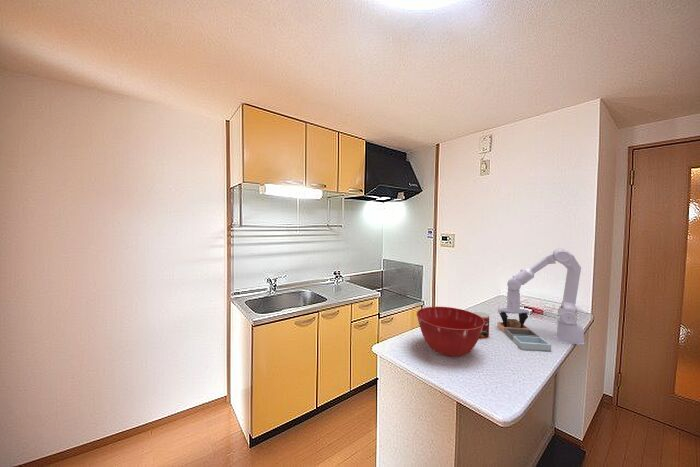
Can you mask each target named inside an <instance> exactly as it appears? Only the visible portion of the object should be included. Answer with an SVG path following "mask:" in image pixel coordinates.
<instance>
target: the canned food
mask: <svg viewBox="0 0 700 467" xmlns="http://www.w3.org/2000/svg"><path fill="white" fill-rule="evenodd" d="M473 313H474V314H477V315H479V316H480V317H482V318H483V319H484V321H485V324H484V326H483V329H482V332H481V334H480V337H479V339H481V340H482V339H487V338H490V314H488V313H486V312H482V311H473ZM479 339H478V340H479Z"/></svg>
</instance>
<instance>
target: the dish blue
mask: <svg viewBox="0 0 700 467" xmlns="http://www.w3.org/2000/svg"><path fill="white" fill-rule="evenodd" d="M512 342H513V343H514V344H515V345H516V346H518V349H520V350H522V351H535V352H536V351H537V352H538V351H539V352H552V344H551V343H549V342H548V341H547V340H545V339H544V338H543V337H542V336H540V337H529V336H513V340H512Z"/></svg>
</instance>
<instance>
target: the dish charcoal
mask: <svg viewBox="0 0 700 467" xmlns="http://www.w3.org/2000/svg"><path fill="white" fill-rule="evenodd" d="M504 334H505V336H507V337H508V339H510V340H511V341H513V336H529V337H541V336H540V335H539V334H537V333H536V332H535V331H534V330H532V329H530V330H528V329H508V328H505V333H504Z"/></svg>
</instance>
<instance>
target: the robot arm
mask: <svg viewBox="0 0 700 467" xmlns="http://www.w3.org/2000/svg"><path fill="white" fill-rule="evenodd" d="M557 262H558V263H559V264H561V265H563V266H564V267H565V268H566V270H567V271H566V276H565V281H564V282H565V283H564V288H563V289H564V290H563V298H562V302H561V304H560V307H559V308H558V309H557V314H558V316H559V317H558V319H557V321H556V322H557V323H556V325H557V327H556V330H557V331H556V332H557V333H556V335H552V337H554V338H555V339H556V340H558V341H559V342H560V343H562V344H572V345H586V344H585V342H584V340H585V338H584V337H585V336H584V335H585V330H584V329H585V328H584V327H583V324H581V323H580V322H577V321H578V316H577V312H576V311H577V310H576V309H577V308H576V305H577V304H576V303H577V302H576V301H577V295H578V290H579V286H580V285H579V283H580V278H581V277H580V276H581V271H582V270H581V269H582V267H581V265H580V264H579V262H578V260H577V259H576V257H575V255H573V254H572V253H571V252H570V251H569V250H566V249H564V248H557V249H554V251H551V252H550V253H548V254H546V255H544V256H543V257H542V258H541V259H540V260H539V261H537V262H536V263H534V264H533V265H532V266H531V267H530V268H523V269H520V270H519V272H518V273H517V274H515V275H512V277H511V278H509V279H508V281H507V282H506V284H507V293H506V294H507V296H506V305H507V306H506V307H505V308H504V307H503V308H502V307H501V308H497V313H498V314H499V315H500V318H501V320H502V321H501V322H503V325H504V327H507V319H509V318H508V317H509V315H508V314H515V315H518V321H519V322H521V328H523V325H525V322H526V321H527V319H528V318H529V315H530V310H529V309H523V308H521V292H520V290H521V286H524V285H526V284H527V283H528V282H530V281H531V280H532V279H534V278H535V274H536V273H537V272H539V271H541V270H542V269H544V268H545V267H547V266H548V265H552V264H553V265H554V264H557Z"/></svg>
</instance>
